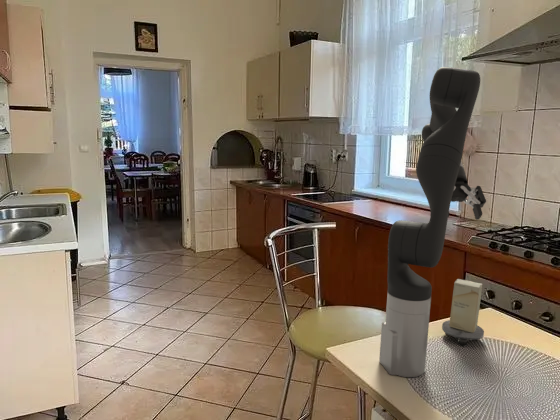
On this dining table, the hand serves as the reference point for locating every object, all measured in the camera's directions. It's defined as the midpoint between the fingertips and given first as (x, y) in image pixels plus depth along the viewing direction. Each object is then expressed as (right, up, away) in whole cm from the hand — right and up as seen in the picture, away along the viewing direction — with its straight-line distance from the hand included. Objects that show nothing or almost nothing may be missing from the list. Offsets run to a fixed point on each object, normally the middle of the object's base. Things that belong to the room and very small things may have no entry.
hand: (462, 217), depth 118 cm
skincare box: (-2, -29, -4) cm, 29 cm away
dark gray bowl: (-2, -32, -4) cm, 32 cm away
